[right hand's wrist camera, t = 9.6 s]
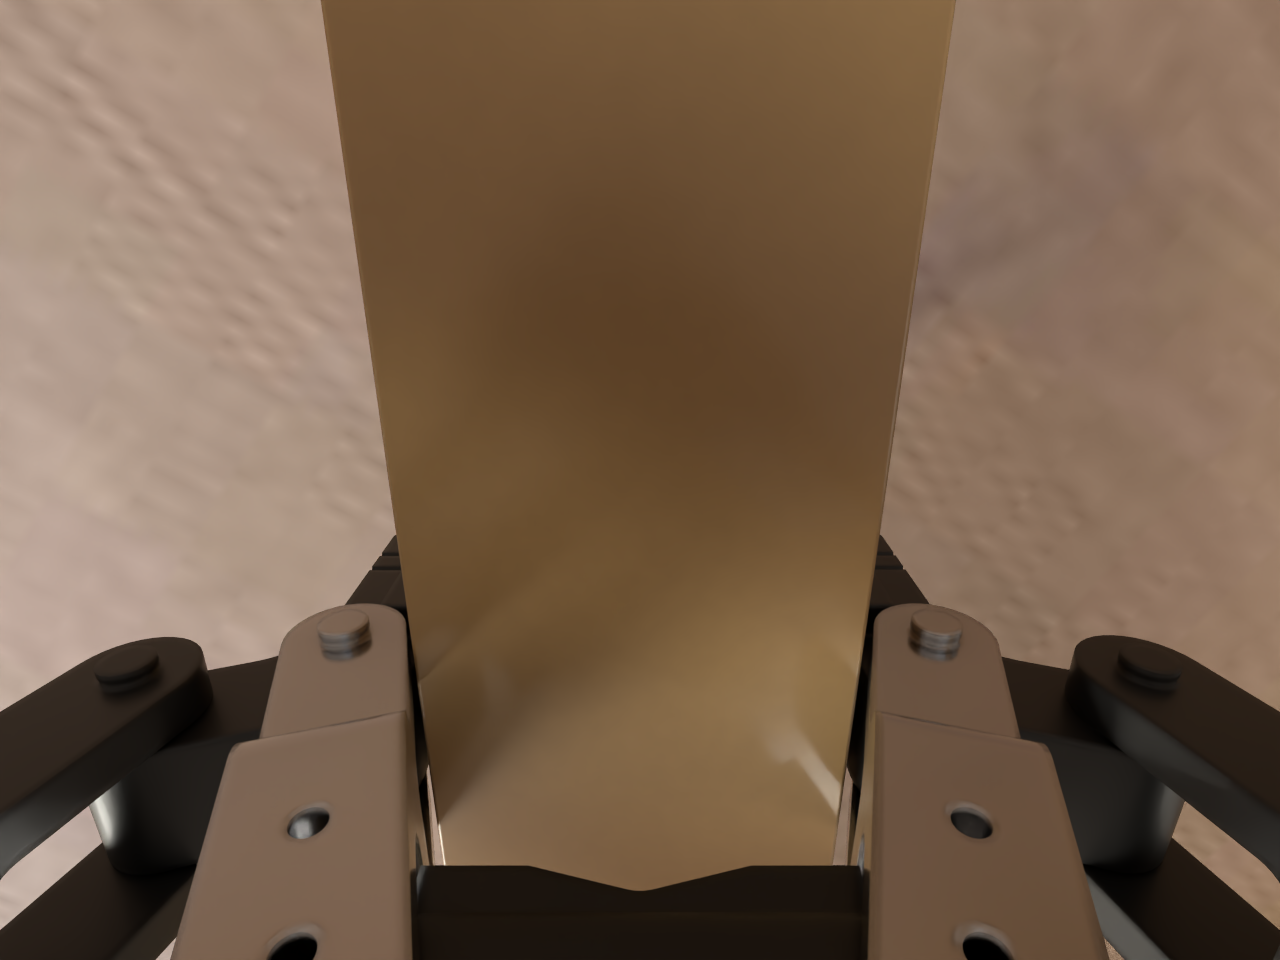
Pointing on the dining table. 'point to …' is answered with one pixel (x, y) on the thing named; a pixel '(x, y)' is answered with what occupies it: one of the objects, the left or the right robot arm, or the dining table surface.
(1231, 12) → the dining table surface
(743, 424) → the bar
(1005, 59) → the dining table surface
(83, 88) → the dining table surface
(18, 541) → the dining table surface
